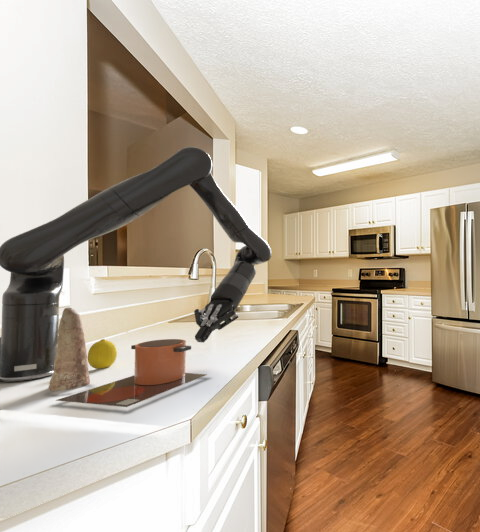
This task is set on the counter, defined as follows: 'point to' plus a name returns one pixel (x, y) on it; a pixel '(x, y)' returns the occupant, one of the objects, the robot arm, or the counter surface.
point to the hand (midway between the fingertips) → (199, 340)
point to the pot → (159, 361)
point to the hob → (126, 392)
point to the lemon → (102, 354)
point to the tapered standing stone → (70, 354)
